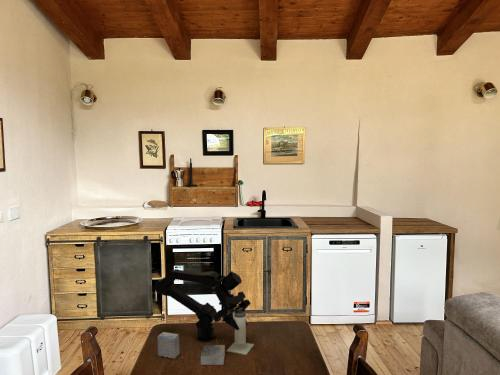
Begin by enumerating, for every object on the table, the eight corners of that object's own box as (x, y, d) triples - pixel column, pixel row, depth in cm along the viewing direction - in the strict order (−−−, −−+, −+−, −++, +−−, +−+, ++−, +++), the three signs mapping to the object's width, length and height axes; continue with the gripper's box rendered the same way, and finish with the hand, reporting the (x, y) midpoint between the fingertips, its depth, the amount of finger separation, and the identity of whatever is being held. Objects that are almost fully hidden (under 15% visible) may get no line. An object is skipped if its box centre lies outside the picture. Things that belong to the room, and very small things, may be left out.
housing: (203, 353, 151) (203, 345, 151) (225, 353, 151) (224, 345, 151) (200, 365, 142) (200, 356, 142) (223, 364, 142) (223, 356, 142)
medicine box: (179, 354, 151) (179, 334, 151) (174, 359, 147) (173, 338, 146) (163, 351, 154) (163, 331, 153) (157, 356, 150) (157, 336, 149)
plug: (235, 344, 153) (235, 315, 152) (234, 339, 157) (233, 310, 157) (246, 343, 153) (246, 314, 153) (245, 338, 158) (244, 309, 157)
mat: (226, 351, 153) (226, 350, 153) (235, 341, 161) (235, 340, 161) (246, 355, 150) (246, 354, 150) (253, 345, 158) (253, 344, 158)
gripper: (217, 292, 150) (236, 326, 143) (247, 281, 164) (266, 311, 157) (205, 306, 155) (223, 338, 149) (235, 294, 169) (253, 324, 163)
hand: (242, 327), depth 154 cm, fingers closed on plug, 5 cm apart
